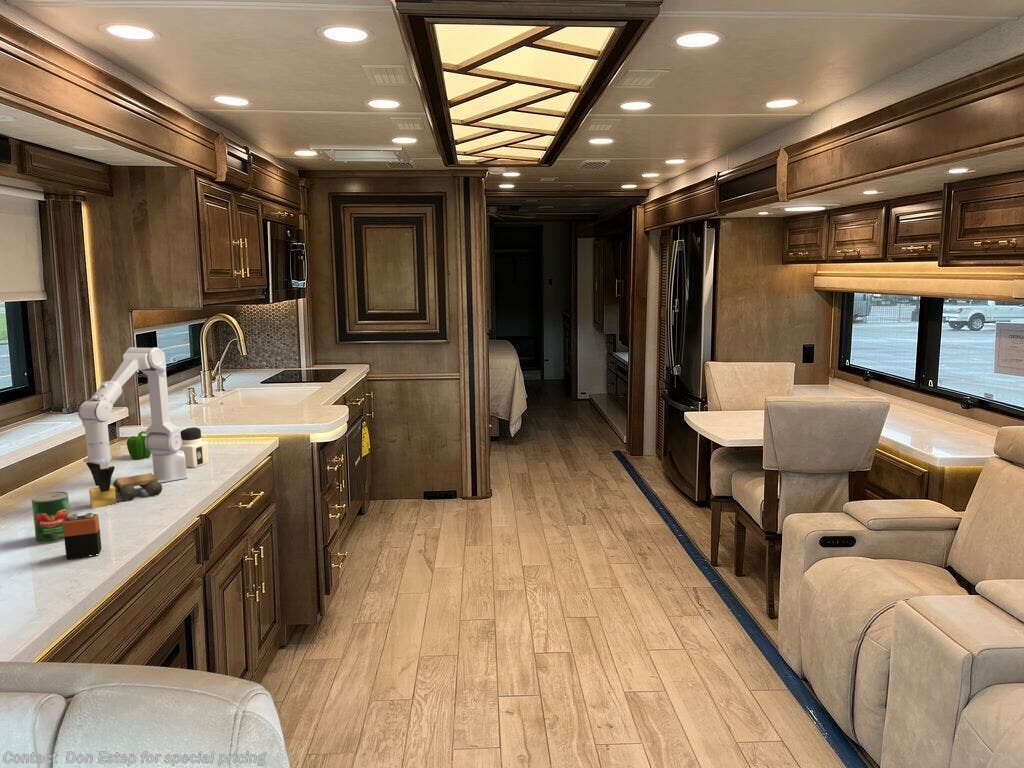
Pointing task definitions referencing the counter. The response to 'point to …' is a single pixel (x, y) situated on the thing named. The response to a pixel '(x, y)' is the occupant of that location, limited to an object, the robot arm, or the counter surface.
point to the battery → (82, 535)
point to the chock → (103, 497)
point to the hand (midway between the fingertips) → (102, 488)
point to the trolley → (143, 481)
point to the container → (194, 447)
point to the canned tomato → (50, 516)
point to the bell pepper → (138, 447)
